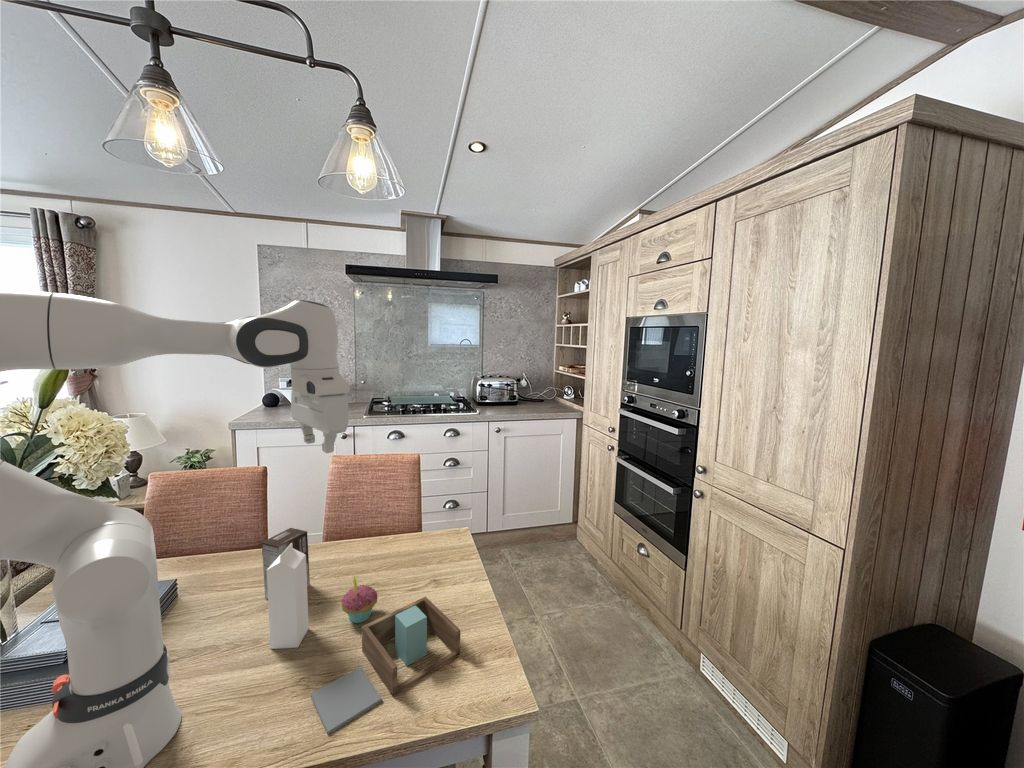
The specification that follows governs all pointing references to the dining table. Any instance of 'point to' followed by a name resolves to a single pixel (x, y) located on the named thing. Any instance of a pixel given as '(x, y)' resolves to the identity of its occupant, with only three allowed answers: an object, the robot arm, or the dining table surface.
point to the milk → (287, 599)
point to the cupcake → (359, 602)
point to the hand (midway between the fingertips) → (318, 447)
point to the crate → (385, 631)
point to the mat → (345, 699)
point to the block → (411, 635)
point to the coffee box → (278, 546)
